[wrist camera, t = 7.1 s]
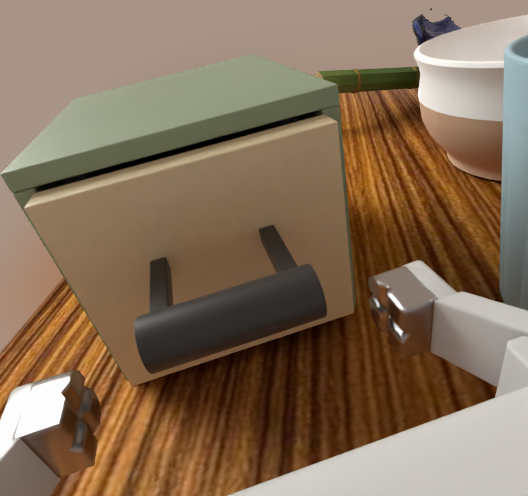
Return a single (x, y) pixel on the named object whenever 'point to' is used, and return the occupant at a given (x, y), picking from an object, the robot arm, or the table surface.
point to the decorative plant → (372, 79)
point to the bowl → (468, 92)
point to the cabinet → (169, 123)
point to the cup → (515, 177)
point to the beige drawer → (206, 244)
